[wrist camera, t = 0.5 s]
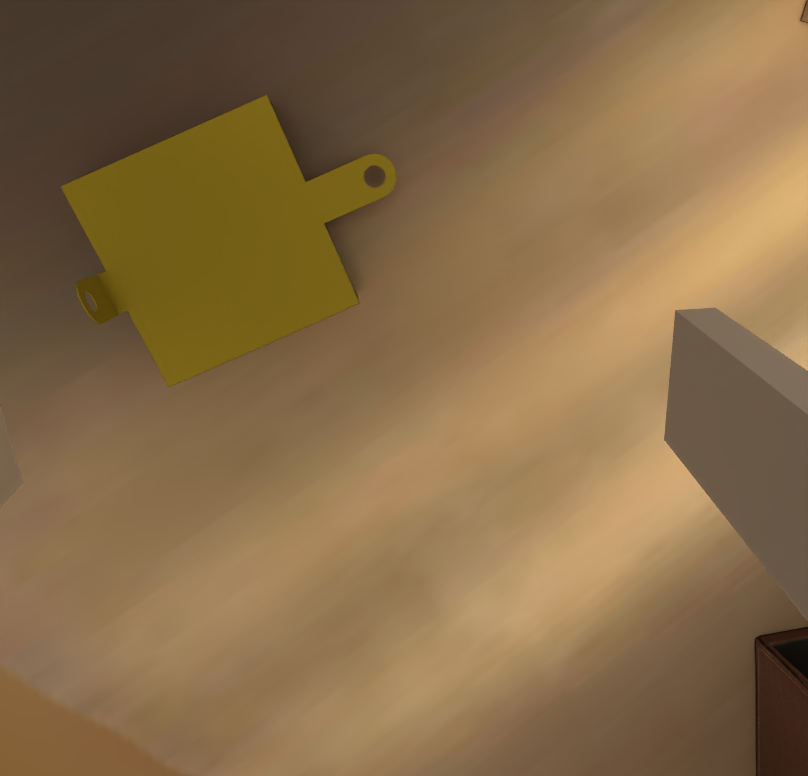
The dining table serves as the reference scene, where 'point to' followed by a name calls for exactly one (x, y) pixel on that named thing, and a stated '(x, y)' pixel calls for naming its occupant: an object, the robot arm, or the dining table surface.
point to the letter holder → (782, 703)
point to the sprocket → (805, 14)
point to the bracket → (218, 239)
